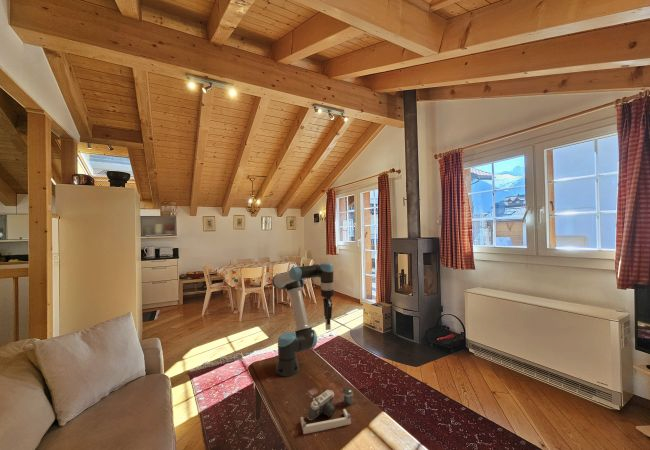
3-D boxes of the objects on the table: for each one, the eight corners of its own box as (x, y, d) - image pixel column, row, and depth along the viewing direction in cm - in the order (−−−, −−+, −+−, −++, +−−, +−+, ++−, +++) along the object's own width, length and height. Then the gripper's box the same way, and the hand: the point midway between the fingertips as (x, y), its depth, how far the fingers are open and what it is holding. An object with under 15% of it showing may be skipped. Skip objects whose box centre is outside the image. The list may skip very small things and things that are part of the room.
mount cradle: (300, 422, 134) (300, 412, 134) (345, 413, 139) (345, 404, 139) (303, 434, 126) (303, 424, 126) (350, 424, 131) (350, 415, 131)
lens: (341, 401, 149) (341, 388, 149) (351, 399, 150) (351, 386, 150) (344, 407, 144) (344, 393, 144) (354, 405, 145) (354, 392, 145)
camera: (304, 415, 136) (309, 398, 133) (325, 399, 148) (330, 383, 146) (317, 430, 130) (323, 413, 128) (338, 412, 143) (344, 396, 140)
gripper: (318, 287, 171) (319, 326, 171) (323, 292, 159) (324, 333, 158) (330, 286, 173) (331, 325, 173) (336, 291, 160) (337, 332, 160)
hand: (328, 329), depth 166 cm, fingers closed
